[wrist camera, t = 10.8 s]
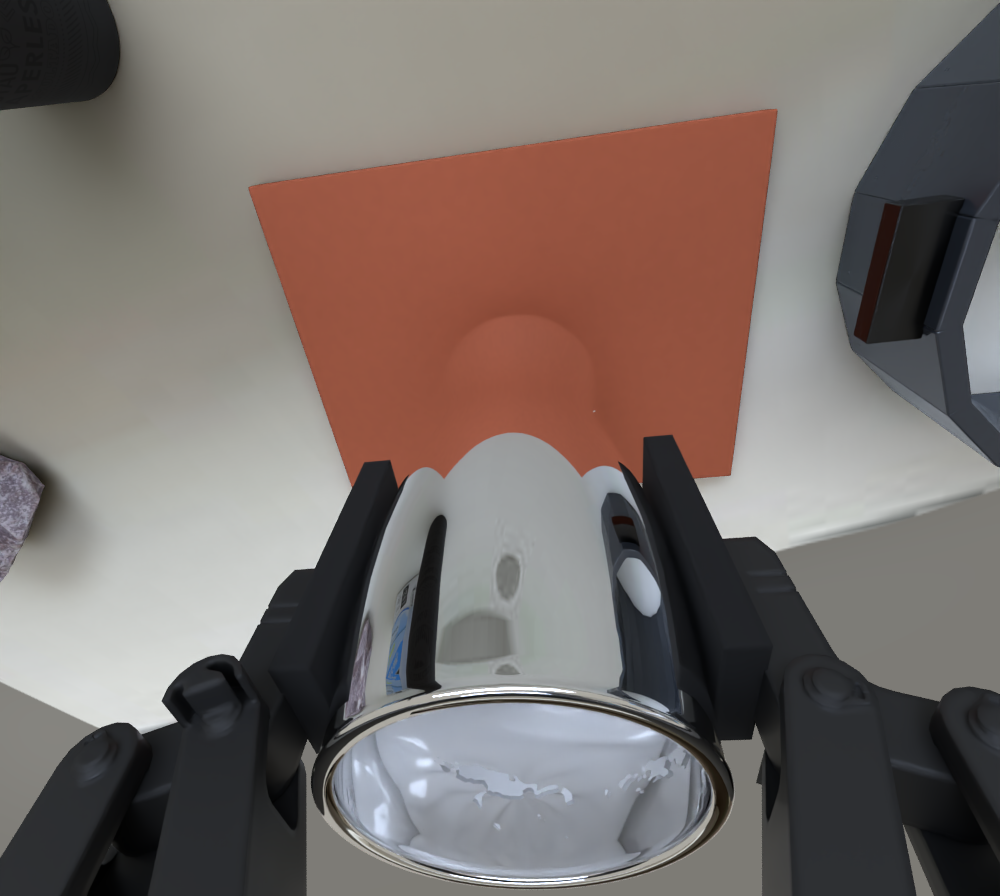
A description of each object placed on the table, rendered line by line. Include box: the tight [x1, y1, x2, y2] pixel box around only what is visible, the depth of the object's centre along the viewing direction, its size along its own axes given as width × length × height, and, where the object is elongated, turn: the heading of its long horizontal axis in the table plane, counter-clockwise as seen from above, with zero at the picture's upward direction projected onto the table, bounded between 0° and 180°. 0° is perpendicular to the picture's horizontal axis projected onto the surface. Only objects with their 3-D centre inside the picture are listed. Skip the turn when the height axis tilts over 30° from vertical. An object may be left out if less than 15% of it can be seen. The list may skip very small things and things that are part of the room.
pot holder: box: [249, 109, 778, 488], centre depth 24 cm, size 20×16×1 cm
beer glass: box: [311, 314, 735, 890], centre depth 14 cm, size 7×7×15 cm
